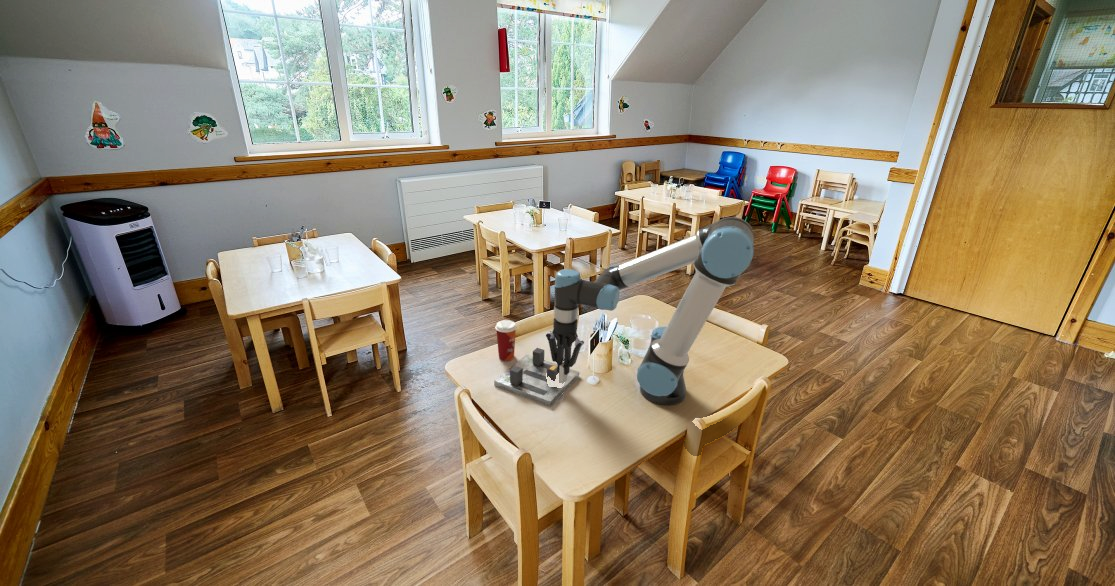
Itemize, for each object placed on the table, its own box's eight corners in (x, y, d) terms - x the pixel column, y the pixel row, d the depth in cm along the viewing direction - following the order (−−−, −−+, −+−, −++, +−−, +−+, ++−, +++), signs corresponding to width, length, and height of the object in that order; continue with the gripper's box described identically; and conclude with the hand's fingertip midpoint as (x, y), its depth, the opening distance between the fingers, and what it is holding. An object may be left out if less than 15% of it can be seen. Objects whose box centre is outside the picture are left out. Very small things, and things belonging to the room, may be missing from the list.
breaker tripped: (558, 379, 159) (559, 367, 157) (554, 384, 157) (554, 371, 155) (551, 377, 161) (551, 364, 159) (546, 381, 158) (547, 368, 156)
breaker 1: (522, 381, 158) (522, 368, 156) (517, 385, 156) (517, 372, 154) (515, 378, 160) (515, 365, 158) (510, 382, 157) (509, 369, 155)
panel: (579, 376, 166) (579, 371, 165) (550, 406, 150) (550, 401, 149) (526, 358, 175) (526, 354, 174) (494, 385, 159) (494, 380, 158)
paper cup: (515, 363, 172) (515, 329, 167) (494, 362, 172) (493, 328, 167) (517, 352, 180) (517, 319, 174) (497, 351, 180) (496, 318, 174)
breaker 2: (544, 361, 169) (544, 349, 167) (539, 365, 167) (539, 353, 165) (537, 359, 171) (537, 347, 169) (532, 363, 168) (532, 351, 166)
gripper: (589, 318, 147) (585, 381, 157) (553, 308, 153) (551, 370, 162) (578, 328, 141) (574, 393, 151) (541, 317, 147) (540, 380, 156)
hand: (562, 381), depth 157 cm, fingers closed
